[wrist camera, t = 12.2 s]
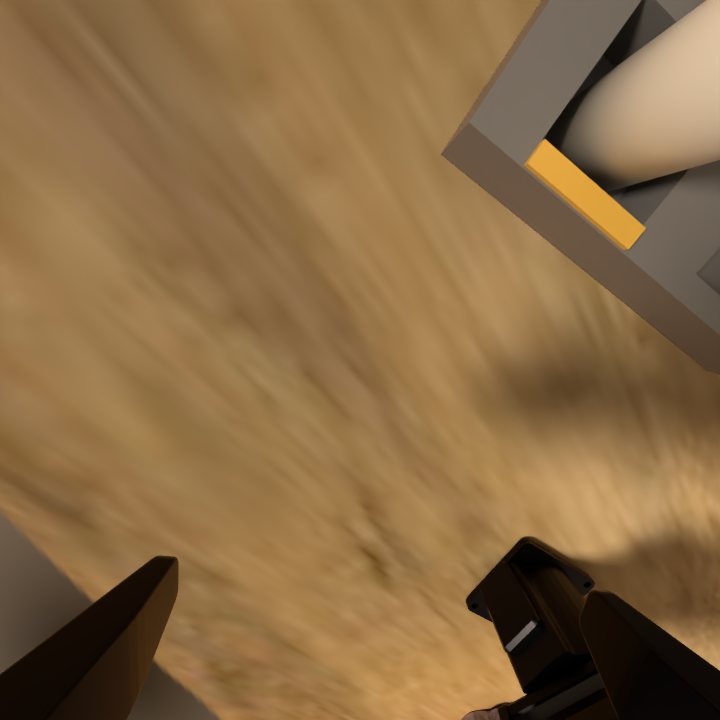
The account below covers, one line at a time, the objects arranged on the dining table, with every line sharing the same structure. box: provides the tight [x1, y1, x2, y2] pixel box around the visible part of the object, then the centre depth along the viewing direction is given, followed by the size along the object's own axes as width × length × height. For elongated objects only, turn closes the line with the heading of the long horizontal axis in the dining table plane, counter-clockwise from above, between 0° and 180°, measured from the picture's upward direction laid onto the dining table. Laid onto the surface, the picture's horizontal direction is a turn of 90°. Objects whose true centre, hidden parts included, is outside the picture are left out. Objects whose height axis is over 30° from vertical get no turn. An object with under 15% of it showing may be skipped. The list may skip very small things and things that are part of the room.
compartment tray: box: [441, 0, 720, 374], centre depth 16 cm, size 20×8×4 cm, turn 56°
